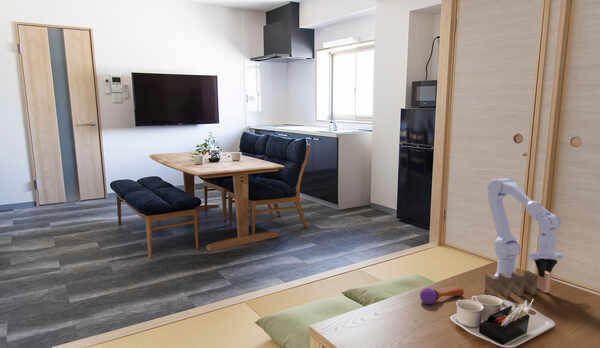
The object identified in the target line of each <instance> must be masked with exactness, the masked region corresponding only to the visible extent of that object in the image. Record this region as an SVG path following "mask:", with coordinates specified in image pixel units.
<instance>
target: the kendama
mask: <svg viewBox="0 0 600 348" xmlns="http://www.w3.org/2000/svg"><path fill="white" fill-rule="evenodd" d="M419 294H420V295H419V298H420V301H421V302H423V304H425V305H432V304H434V303H435V302H436V301H438V300H440V299H441V297H446V296H447V297H463V296H464V294H465V293H464V289H463V288H462V287H456V288H453V289H450V290H446V291H443V292H440V291H438V290H436V289H432V288H430V287H426V288H424V289H422V290H420V293H419Z"/></svg>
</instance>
